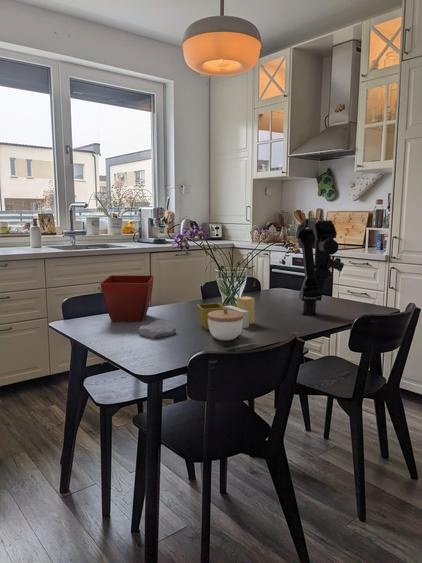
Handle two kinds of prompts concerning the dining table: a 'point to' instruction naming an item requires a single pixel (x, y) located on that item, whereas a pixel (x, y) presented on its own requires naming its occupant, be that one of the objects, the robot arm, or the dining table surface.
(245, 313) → the wall
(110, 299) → the plant pot
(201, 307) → the flower pot
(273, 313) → the dining table surface
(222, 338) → the lidded bowl
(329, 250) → the robot arm
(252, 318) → the block
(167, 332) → the stone block
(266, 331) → the dining table surface
